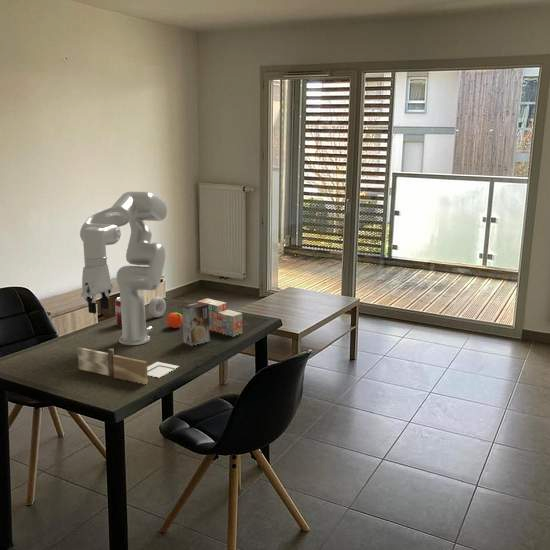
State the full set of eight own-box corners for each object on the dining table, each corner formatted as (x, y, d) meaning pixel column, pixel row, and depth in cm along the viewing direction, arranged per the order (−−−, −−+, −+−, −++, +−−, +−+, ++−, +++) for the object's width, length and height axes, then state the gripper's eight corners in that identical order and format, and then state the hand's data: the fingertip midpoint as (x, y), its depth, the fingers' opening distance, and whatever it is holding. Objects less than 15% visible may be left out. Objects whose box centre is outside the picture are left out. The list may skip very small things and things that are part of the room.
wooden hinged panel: (112, 374, 224) (110, 348, 222) (148, 383, 217) (147, 355, 215) (108, 376, 223) (106, 350, 220) (145, 385, 215) (143, 357, 213)
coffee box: (201, 338, 264) (200, 301, 260) (210, 342, 259) (209, 304, 255) (182, 342, 258) (181, 305, 254) (191, 346, 253) (189, 308, 250)
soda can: (126, 321, 287) (124, 296, 284) (136, 324, 282) (135, 298, 279) (113, 325, 281) (111, 299, 278) (123, 328, 277) (121, 302, 274)
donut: (162, 314, 298) (161, 293, 295) (167, 315, 296) (167, 294, 294) (147, 319, 290) (146, 298, 287) (152, 320, 288) (151, 299, 286)
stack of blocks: (242, 333, 270) (242, 306, 267) (232, 337, 265) (232, 309, 262) (208, 324, 283) (207, 297, 280) (198, 327, 278) (197, 300, 276)
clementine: (187, 326, 280) (187, 310, 278) (181, 331, 273) (180, 315, 272) (170, 324, 282) (170, 309, 280) (164, 329, 275) (163, 313, 273)
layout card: (157, 362, 236) (157, 361, 236) (179, 367, 232) (179, 365, 231) (136, 373, 226) (136, 372, 226) (159, 378, 221) (159, 377, 221)
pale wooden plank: (110, 374, 224) (109, 353, 222) (108, 375, 223) (107, 354, 221) (81, 367, 230) (79, 347, 229) (78, 369, 229) (77, 348, 228)
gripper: (104, 256, 233) (107, 303, 237) (69, 265, 218) (73, 315, 222) (120, 258, 230) (122, 306, 234) (86, 267, 215) (89, 318, 219)
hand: (98, 310), depth 228 cm, fingers open, 5 cm apart
